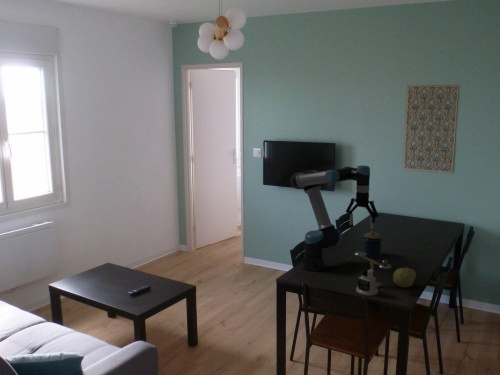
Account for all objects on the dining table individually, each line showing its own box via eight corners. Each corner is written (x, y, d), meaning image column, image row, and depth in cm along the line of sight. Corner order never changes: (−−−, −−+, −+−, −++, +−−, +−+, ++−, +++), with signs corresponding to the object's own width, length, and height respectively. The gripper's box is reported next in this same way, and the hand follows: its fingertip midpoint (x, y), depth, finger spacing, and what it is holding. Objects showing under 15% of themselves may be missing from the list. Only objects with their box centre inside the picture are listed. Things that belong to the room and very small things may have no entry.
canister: (382, 258, 317) (383, 234, 313) (362, 258, 319) (363, 233, 315) (380, 252, 329) (381, 228, 326) (361, 251, 331) (362, 227, 328)
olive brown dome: (406, 291, 265) (407, 273, 263) (388, 284, 274) (389, 267, 272) (418, 286, 271) (419, 268, 269) (400, 279, 281) (401, 262, 279)
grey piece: (358, 289, 265) (358, 269, 262) (364, 285, 270) (365, 266, 268) (369, 293, 260) (370, 272, 258) (375, 289, 265) (376, 269, 263)
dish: (352, 292, 264) (352, 290, 264) (361, 285, 273) (362, 283, 273) (372, 297, 257) (372, 295, 257) (381, 290, 266) (381, 288, 266)
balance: (351, 282, 278) (352, 253, 275) (356, 278, 284) (357, 250, 280) (387, 291, 264) (388, 261, 261) (392, 287, 270) (393, 258, 266)
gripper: (340, 190, 283) (339, 224, 287) (379, 195, 267) (378, 231, 271) (346, 188, 288) (345, 221, 293) (385, 193, 273) (383, 228, 277)
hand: (361, 226), depth 282 cm, fingers open, 13 cm apart
